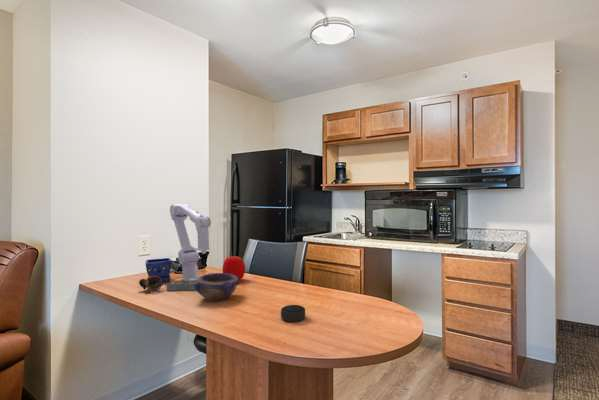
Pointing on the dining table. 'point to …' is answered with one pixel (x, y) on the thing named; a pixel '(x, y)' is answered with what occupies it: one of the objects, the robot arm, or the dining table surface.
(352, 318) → the dining table surface
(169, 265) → the flower pot
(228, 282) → the bowl
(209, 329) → the dining table surface
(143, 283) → the brown bird figurine
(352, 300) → the dining table surface
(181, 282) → the peach ball
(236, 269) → the tomato
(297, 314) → the smart speaker
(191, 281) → the slate button
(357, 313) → the dining table surface
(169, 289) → the panel
